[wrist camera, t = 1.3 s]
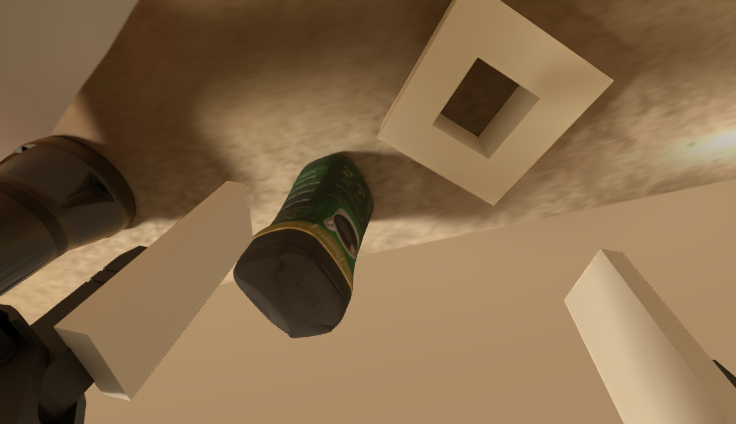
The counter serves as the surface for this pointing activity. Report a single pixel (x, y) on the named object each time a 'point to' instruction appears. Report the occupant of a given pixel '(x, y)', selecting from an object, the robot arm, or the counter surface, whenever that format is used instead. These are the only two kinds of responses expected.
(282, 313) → the coffee jar
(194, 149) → the counter surface
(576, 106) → the socket block
